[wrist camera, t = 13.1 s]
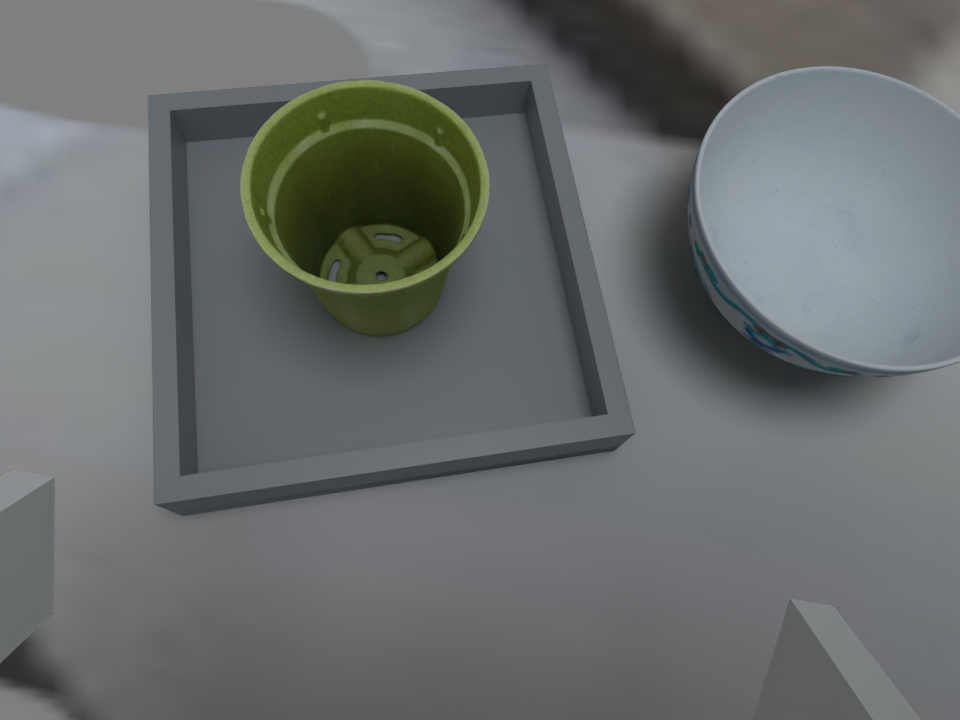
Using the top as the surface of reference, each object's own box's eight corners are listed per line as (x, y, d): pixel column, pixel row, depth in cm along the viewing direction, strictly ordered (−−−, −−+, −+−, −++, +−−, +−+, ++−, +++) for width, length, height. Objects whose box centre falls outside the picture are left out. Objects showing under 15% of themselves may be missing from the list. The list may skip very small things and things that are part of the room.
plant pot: (267, 360, 33) (215, 278, 25) (300, 188, 36) (263, 65, 28) (466, 379, 33) (479, 305, 25) (481, 207, 37) (498, 92, 28)
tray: (536, 108, 40) (546, 63, 37) (614, 450, 34) (635, 433, 30) (172, 140, 38) (147, 95, 34) (182, 515, 31) (154, 504, 28)
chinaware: (681, 129, 40) (737, 24, 33) (934, 217, 40) (1048, 129, 32) (608, 357, 35) (656, 292, 28) (896, 463, 35) (1022, 424, 27)
